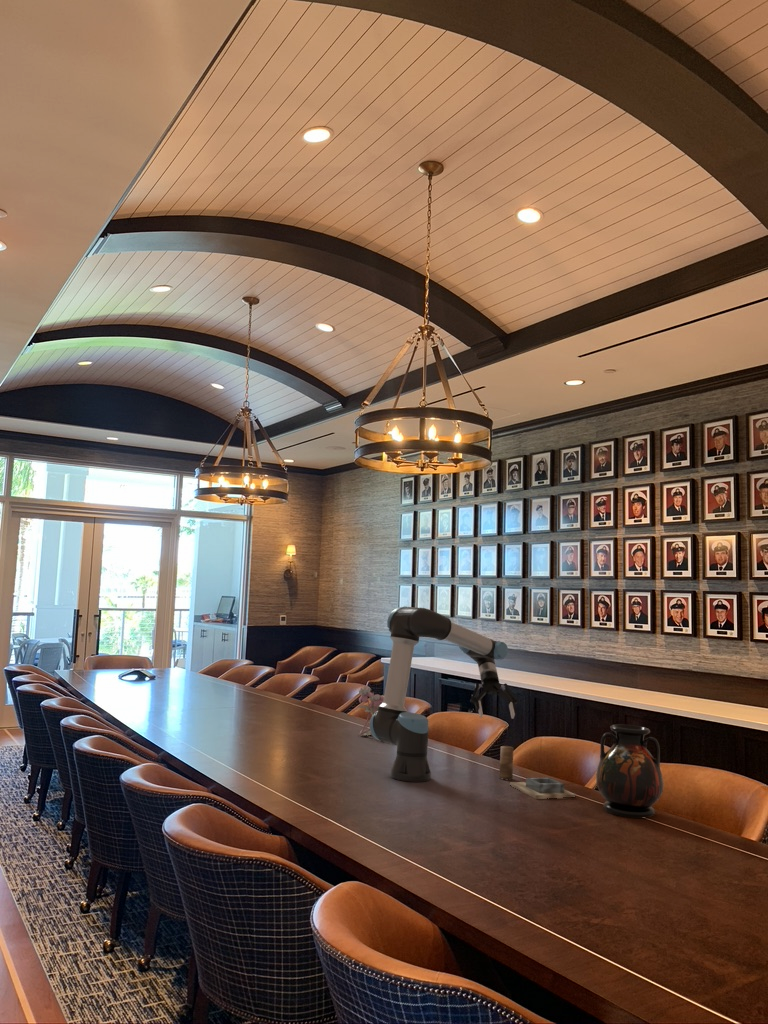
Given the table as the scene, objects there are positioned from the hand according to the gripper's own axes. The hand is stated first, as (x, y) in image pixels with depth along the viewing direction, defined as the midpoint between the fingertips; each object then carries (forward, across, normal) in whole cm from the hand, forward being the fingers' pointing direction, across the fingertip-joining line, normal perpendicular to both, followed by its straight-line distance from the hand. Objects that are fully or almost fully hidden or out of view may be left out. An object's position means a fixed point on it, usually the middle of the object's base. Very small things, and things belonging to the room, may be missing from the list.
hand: (497, 716), depth 319 cm
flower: (-37, +38, -68) cm, 86 cm away
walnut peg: (+26, 0, -5) cm, 26 cm away
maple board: (+40, -8, +9) cm, 42 cm away
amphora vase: (+59, -28, +28) cm, 71 cm away
